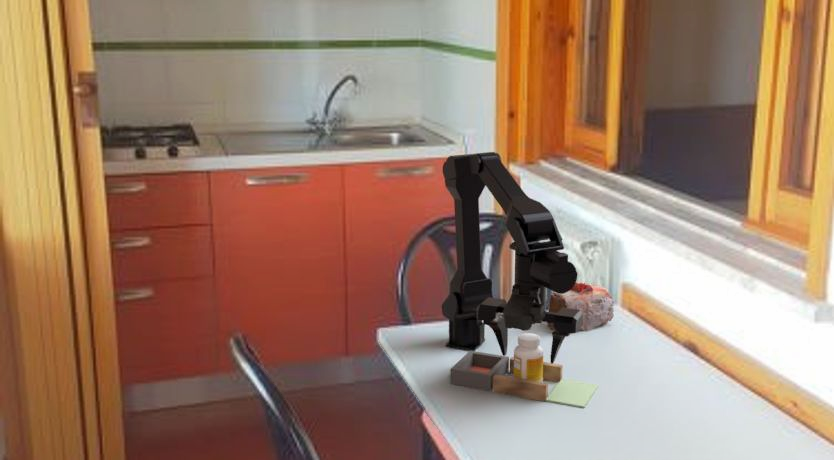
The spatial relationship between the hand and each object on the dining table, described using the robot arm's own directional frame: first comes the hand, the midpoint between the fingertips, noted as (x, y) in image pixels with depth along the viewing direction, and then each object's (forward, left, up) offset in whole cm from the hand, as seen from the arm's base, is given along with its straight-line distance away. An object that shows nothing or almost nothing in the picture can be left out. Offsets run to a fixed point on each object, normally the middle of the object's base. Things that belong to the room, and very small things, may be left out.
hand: (528, 358), depth 171 cm
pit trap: (-9, 0, -5) cm, 11 cm away
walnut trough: (0, 0, -5) cm, 5 cm away
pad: (+9, 0, -5) cm, 10 cm away
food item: (+1, +35, -6) cm, 35 cm away
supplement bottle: (0, 0, -6) cm, 6 cm away
